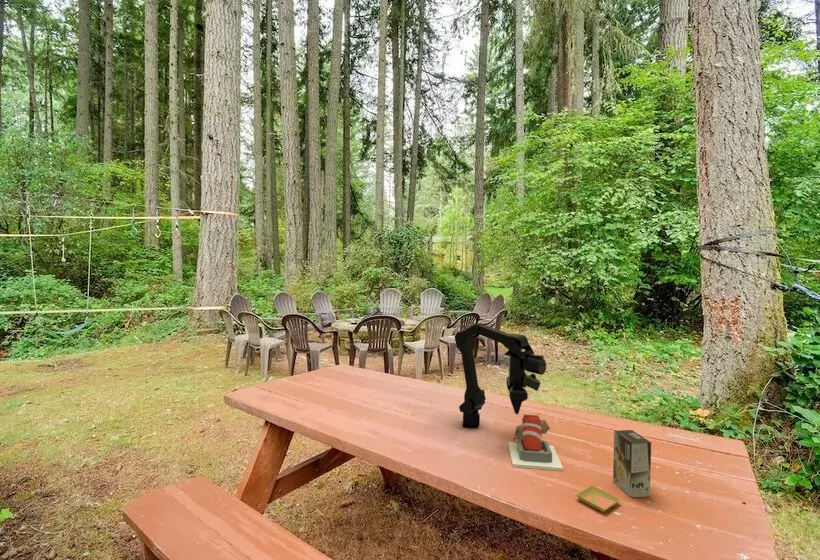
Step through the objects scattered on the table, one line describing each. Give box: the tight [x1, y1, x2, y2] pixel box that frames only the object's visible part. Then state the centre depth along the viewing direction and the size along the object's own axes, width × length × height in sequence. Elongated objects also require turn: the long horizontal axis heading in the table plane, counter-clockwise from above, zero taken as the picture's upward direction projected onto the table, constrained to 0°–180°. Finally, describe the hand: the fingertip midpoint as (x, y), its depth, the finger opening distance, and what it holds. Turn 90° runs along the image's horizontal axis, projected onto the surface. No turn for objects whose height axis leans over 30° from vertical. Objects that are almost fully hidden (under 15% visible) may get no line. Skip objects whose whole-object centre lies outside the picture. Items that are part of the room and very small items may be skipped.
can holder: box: [507, 439, 564, 472], centre depth 137 cm, size 16×16×4 cm
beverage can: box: [521, 414, 543, 452], centre depth 139 cm, size 6×6×12 cm
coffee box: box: [612, 429, 652, 498], centre depth 118 cm, size 9×6×16 cm
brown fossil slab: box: [513, 419, 551, 440], centre depth 161 cm, size 26×11×1 cm, turn 134°
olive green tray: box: [575, 485, 621, 513], centre depth 112 cm, size 9×9×2 cm
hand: (515, 409), depth 149 cm, fingers open, 9 cm apart
